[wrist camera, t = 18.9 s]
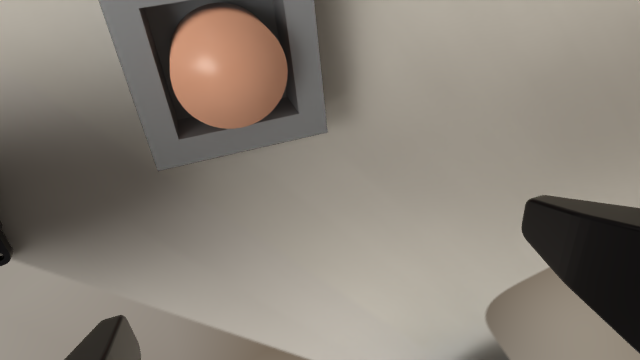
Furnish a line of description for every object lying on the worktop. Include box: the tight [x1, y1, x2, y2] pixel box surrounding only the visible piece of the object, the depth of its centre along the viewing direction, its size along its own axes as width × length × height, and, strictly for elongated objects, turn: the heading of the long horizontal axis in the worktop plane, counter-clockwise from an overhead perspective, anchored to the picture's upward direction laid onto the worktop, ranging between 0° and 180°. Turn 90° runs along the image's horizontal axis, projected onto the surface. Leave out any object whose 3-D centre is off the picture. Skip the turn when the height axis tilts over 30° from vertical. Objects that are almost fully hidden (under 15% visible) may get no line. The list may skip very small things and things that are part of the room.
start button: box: [169, 3, 288, 129], centre depth 16 cm, size 4×4×2 cm
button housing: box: [99, 0, 328, 171], centre depth 17 cm, size 7×7×2 cm
